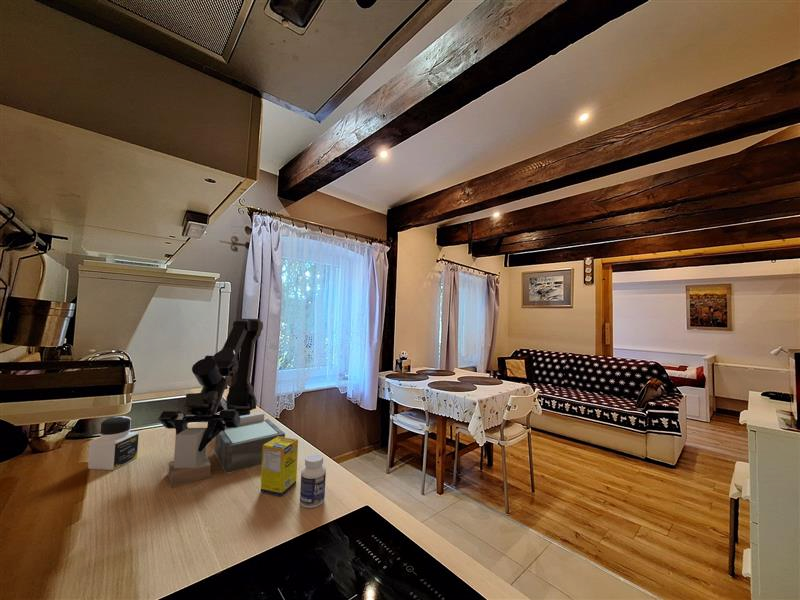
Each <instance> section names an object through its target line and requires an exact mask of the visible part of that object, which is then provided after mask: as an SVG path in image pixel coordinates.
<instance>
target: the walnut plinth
mask: <svg viewBox="0 0 800 600" xmlns="http://www.w3.org/2000/svg"><path fill="white" fill-rule="evenodd" d="M211 467H212V465H211V462H210V460H209V457H208V456H207V454H206V455H205V459H204V460H203V461H202V462H201V463H200V464H199V465H198V466H197V467H196V468H174V460H171V461H169V462H168V479H169V483H170V488H176V487H179V486H182V485H186V484H190V483H193V482H197V481H201V480H204V479H208V478H211Z"/></svg>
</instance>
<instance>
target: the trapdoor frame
mask: <svg viewBox="0 0 800 600" xmlns="http://www.w3.org/2000/svg"><path fill="white" fill-rule="evenodd" d="M264 421H265V422H266V423H268V424H269V425H270V426H271V427H272V428H273V429H274V430H275V431H276V432H278V434H273V435H269V436H264V437H260V438H255V439H251V440H246V441H242V442H238V443H233V444H231V442H230V441H229V439H228V438H227V436H226V435H225V433H224V432H223V431H221V432H220V433H219V434H218V435H216V436H215V445H214V454H215V456H216V457H217V460H218V461H219V463H220V465H221V467H222V469H223V471H224V473H225V474H230V473H233V472H237V471H240V470H244V469H247V468H248V469H249V468H251V467H255V466H258V464H259V465H262V447H263V445H264V444H266V443H267V442H269V441H271V440H273V439H275V438H276V437H278V436H280V437H286V433H285V432H284V431H283V430H281V428H280V427H278V426H277V425H276V424H275V423H274V422H273V421H271V419H269V418H267V419H264Z"/></svg>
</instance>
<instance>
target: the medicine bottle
mask: <svg viewBox="0 0 800 600" xmlns="http://www.w3.org/2000/svg"><path fill="white" fill-rule="evenodd" d="M131 423H132V418H131V417H129V416H125V415H122V416H121V415H119V416H113V417H109V418H106V419H105V420H102V422H100V432H99V435H100V437H98V438H95V439H93V440H90V441H89V449H88V450H89V451H88V462H87V469H88V470H101V471H102V470H105V471H106V470H108V471H115V470H117V469H119V468H121V467H122V466H124V465H126V464H128V463H130V462H132V461H134V460H136V459H137V458H138V452H139V451H138V449H139V432H137V431H136V432H135V431H134V432H133V431H131V428H132V426H131Z"/></svg>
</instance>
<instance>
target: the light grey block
mask: <svg viewBox="0 0 800 600" xmlns="http://www.w3.org/2000/svg"><path fill="white" fill-rule="evenodd" d="M206 429H207V427H188V428H186V429H185V430H183V431H182V432H180V433H179V434H177V435H176V434H175V439H174V456H173V459H174V460H173V461H174V468H196V467H197V466H198V465H199V464H200V463H201V462H202V461H203V460H204V459H205V455H206V456H207V454H206V452H207V446H206V447H205V448H204V449H203V450H202V451H201V452H199V451H198V449H199V445H200V443H201V440H202V438H203V436H204V434H205V431H206Z"/></svg>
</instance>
